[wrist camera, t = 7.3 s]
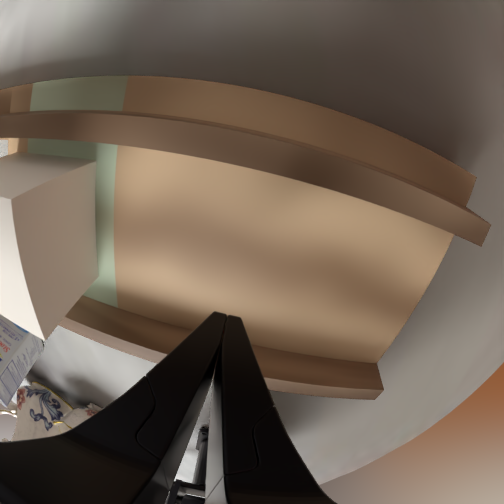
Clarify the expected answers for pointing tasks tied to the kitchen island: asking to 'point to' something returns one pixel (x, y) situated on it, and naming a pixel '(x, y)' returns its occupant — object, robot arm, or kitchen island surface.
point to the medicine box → (15, 357)
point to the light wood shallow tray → (248, 221)
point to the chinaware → (44, 413)
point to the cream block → (45, 237)
